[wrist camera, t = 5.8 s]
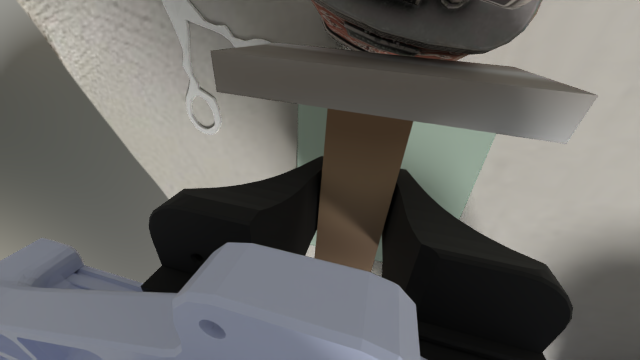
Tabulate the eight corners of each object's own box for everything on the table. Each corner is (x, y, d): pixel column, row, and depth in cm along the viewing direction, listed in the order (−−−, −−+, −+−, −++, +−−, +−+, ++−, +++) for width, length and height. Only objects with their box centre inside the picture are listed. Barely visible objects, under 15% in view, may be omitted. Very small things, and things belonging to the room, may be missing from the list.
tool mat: (434, 270, 22) (435, 274, 22) (297, 238, 25) (296, 241, 24) (507, 99, 15) (510, 100, 14) (300, 78, 17) (298, 78, 17)
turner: (418, 277, 17) (424, 357, 13) (281, 241, 19) (248, 301, 15) (513, 66, 10) (598, 95, 6) (277, 42, 12) (210, 51, 7)
